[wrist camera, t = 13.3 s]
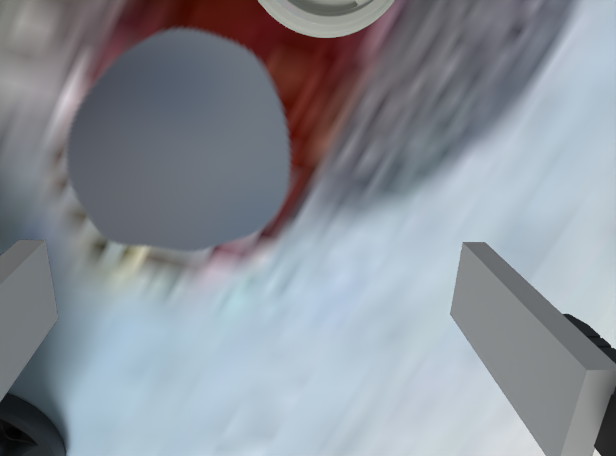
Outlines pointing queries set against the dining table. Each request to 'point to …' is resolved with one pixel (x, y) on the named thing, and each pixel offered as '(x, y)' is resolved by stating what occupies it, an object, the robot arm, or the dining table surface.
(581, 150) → the dining table surface
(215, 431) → the dining table surface
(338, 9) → the coffee cup
